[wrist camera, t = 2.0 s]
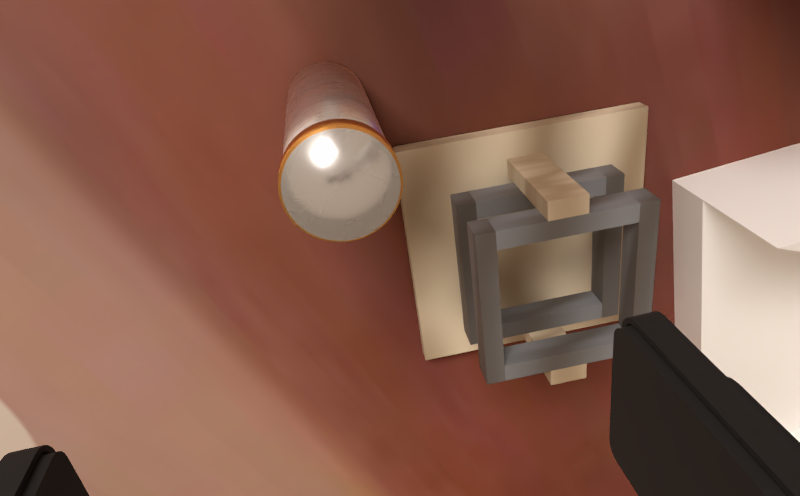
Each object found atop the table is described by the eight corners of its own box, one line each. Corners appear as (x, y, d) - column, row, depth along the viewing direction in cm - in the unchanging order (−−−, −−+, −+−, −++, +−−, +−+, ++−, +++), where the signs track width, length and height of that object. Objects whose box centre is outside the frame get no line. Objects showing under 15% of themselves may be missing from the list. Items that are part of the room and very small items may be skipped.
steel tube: (360, 52, 30) (394, 115, 19) (373, 133, 32) (411, 231, 21) (276, 66, 29) (263, 138, 19) (295, 147, 31) (293, 253, 21)
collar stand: (639, 102, 33) (717, 139, 27) (627, 308, 40) (687, 376, 33) (392, 146, 32) (414, 196, 26) (422, 350, 39) (446, 428, 33)
